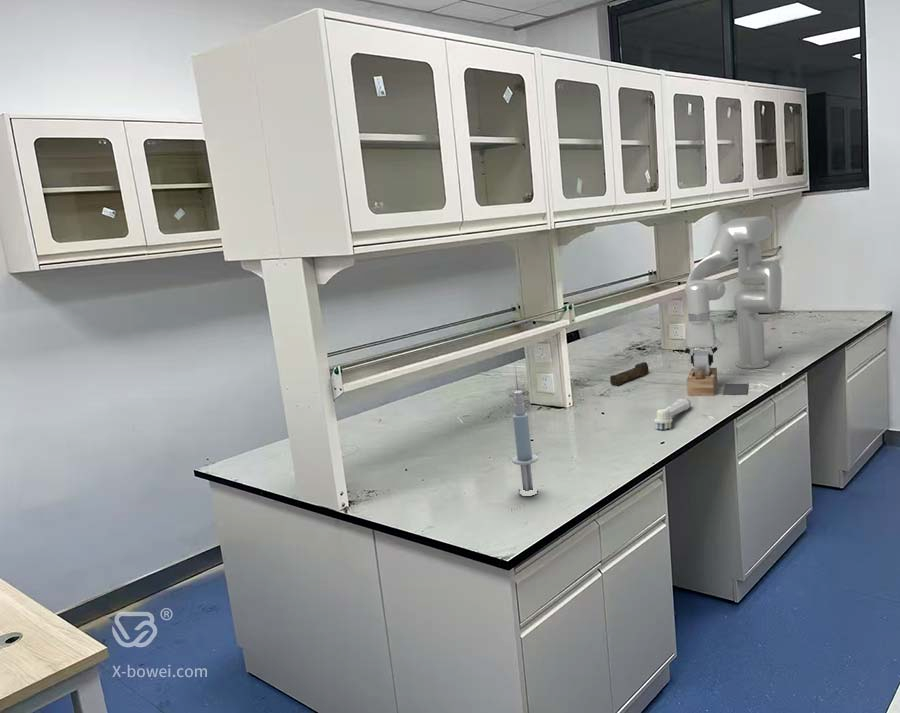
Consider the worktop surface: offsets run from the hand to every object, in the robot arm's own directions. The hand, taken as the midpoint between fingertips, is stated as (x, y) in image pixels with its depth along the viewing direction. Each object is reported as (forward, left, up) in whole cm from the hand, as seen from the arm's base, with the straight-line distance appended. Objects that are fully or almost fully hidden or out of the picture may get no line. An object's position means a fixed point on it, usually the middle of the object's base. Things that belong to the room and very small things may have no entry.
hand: (702, 364), depth 264 cm
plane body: (+1, 0, -9) cm, 9 cm away
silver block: (0, 0, -4) cm, 4 cm away
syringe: (+104, -35, -10) cm, 110 cm away
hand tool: (-16, -30, -10) cm, 35 cm away
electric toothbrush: (+37, -6, -10) cm, 39 cm away
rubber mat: (+2, +11, -9) cm, 15 cm away
